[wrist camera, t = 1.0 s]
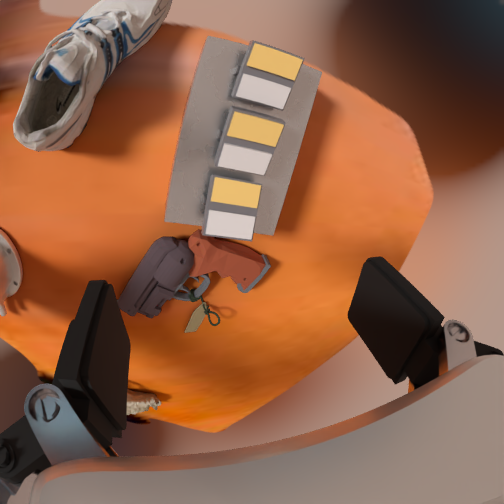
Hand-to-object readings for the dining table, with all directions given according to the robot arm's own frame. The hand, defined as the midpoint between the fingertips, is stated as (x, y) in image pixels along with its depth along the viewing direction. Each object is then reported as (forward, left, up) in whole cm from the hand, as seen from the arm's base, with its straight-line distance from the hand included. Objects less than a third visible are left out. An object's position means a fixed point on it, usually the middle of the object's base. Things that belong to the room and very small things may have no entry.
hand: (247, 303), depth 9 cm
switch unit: (+4, -3, -25) cm, 25 cm away
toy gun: (-16, -2, -26) cm, 30 cm away
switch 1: (+11, -3, -17) cm, 20 cm away
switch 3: (-2, -3, -17) cm, 17 cm away
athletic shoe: (+11, +14, -25) cm, 31 cm away
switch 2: (+4, -3, -17) cm, 18 cm away
